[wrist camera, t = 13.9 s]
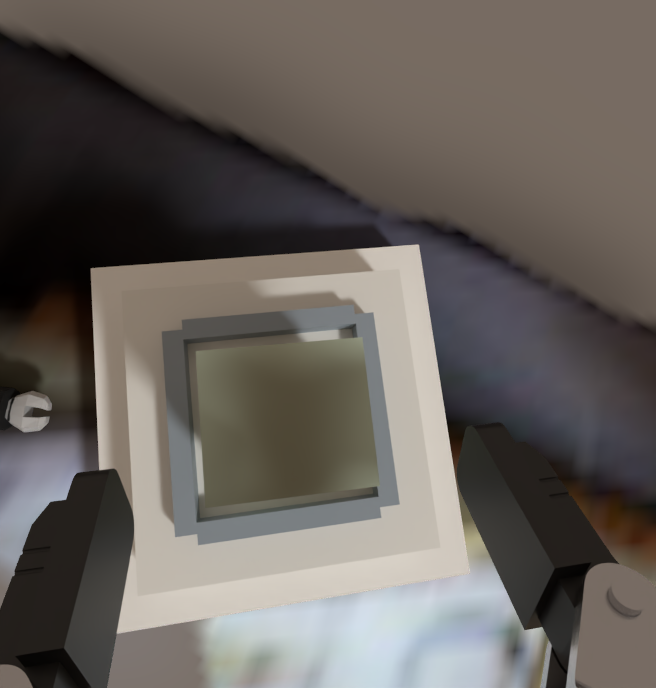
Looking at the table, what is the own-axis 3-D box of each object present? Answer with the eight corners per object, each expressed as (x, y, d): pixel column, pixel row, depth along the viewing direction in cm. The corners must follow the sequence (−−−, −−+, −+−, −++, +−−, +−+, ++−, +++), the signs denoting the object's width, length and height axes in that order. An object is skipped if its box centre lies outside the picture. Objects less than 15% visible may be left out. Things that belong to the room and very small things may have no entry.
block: (329, 369, 21) (362, 337, 13) (339, 465, 20) (380, 486, 13) (222, 379, 20) (195, 351, 13) (229, 478, 20) (205, 507, 12)
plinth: (405, 261, 27) (442, 215, 22) (450, 559, 25) (506, 599, 19) (107, 284, 25) (59, 239, 19) (123, 613, 23) (73, 677, 17)
